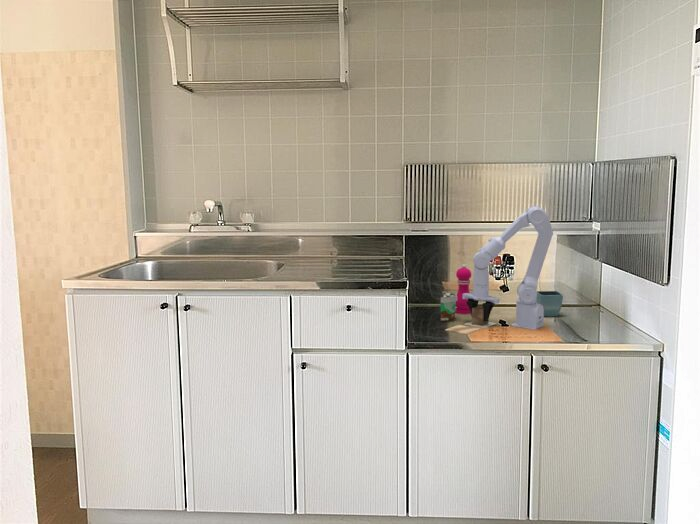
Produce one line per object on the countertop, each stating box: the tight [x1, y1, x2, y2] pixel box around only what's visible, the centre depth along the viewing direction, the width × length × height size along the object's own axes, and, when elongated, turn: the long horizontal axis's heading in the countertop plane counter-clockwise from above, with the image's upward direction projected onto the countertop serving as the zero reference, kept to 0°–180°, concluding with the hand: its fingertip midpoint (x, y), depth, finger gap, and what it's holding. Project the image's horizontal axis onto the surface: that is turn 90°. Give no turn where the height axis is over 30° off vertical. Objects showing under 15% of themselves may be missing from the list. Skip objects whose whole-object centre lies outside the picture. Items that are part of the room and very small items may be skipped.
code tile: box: [464, 320, 497, 329], centre depth 239 cm, size 9×9×1 cm
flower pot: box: [536, 290, 564, 317], centre depth 251 cm, size 9×9×9 cm
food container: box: [440, 291, 458, 323], centre depth 246 cm, size 12×6×10 cm, turn 168°
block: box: [471, 305, 490, 326], centre depth 238 cm, size 4×4×6 cm
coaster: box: [444, 324, 481, 336], centre depth 230 cm, size 9×9×1 cm
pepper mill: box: [455, 263, 472, 315], centre depth 256 cm, size 7×7×20 cm
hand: (480, 319), depth 238 cm, fingers closed on block, 4 cm apart
